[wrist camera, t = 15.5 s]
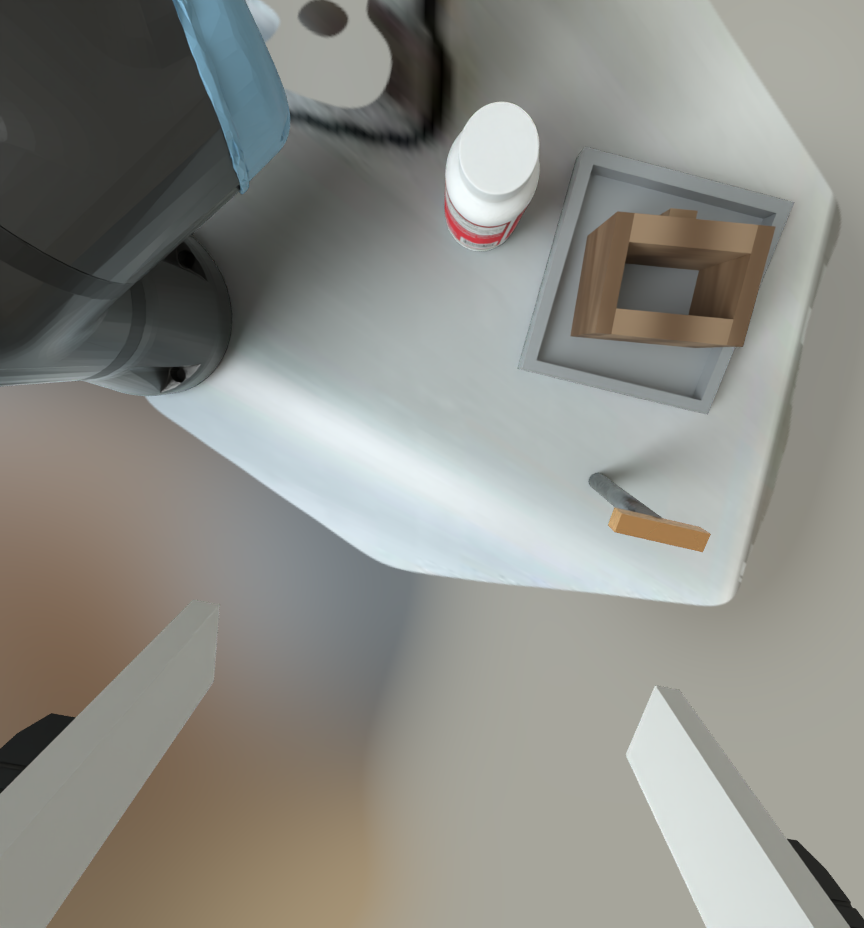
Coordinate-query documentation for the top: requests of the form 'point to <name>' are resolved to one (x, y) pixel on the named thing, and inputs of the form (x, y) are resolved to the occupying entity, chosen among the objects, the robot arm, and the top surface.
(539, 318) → the tray
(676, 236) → the brown wooden open box
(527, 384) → the top surface
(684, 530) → the t-shaped peg
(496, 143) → the pill bottle
